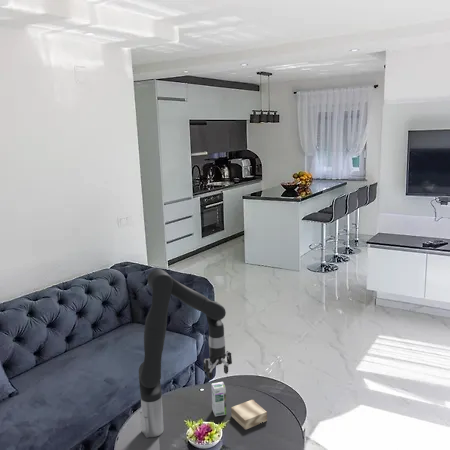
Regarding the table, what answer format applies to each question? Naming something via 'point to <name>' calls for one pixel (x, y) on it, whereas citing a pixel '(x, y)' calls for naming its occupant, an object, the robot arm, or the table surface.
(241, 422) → the birch block
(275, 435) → the table surface
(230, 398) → the table surface
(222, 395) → the syrup box
